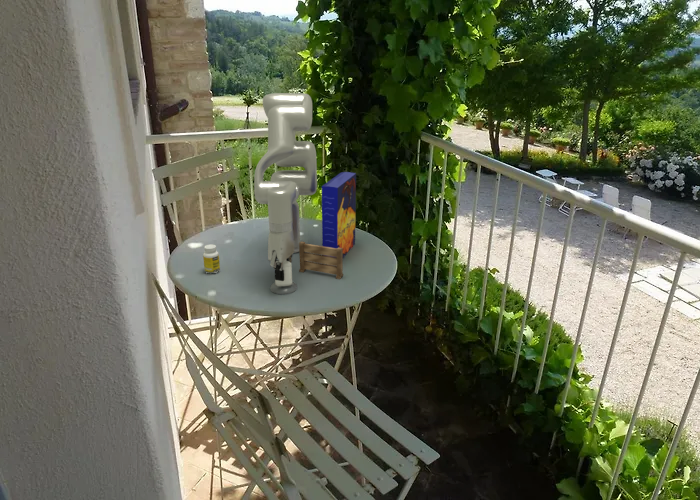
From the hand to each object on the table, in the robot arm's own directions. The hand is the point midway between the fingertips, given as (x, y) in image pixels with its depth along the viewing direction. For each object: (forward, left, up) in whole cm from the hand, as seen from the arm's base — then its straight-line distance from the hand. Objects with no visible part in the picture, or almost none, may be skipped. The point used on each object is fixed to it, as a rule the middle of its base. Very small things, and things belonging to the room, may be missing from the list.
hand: (283, 276), depth 167 cm
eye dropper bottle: (0, 0, -3) cm, 3 cm away
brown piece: (+7, +15, -4) cm, 17 cm away
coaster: (0, 0, -4) cm, 4 cm away
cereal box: (+6, +35, -5) cm, 36 cm away
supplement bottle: (-30, +2, -5) cm, 30 cm away
